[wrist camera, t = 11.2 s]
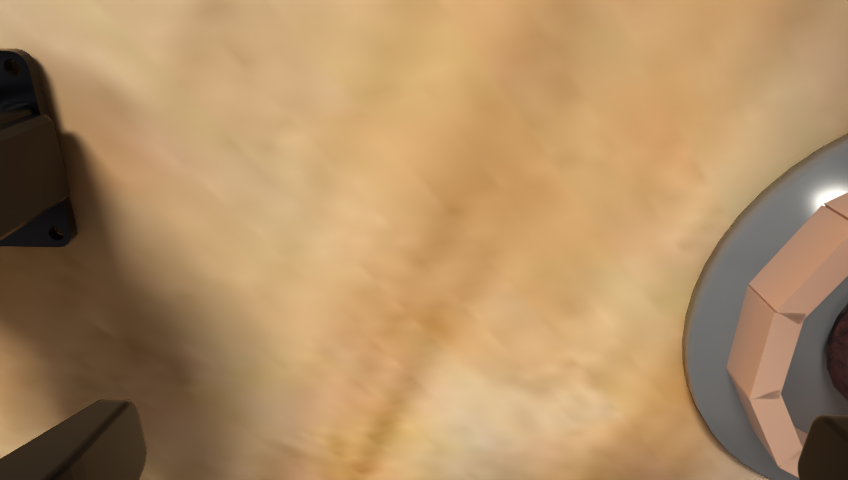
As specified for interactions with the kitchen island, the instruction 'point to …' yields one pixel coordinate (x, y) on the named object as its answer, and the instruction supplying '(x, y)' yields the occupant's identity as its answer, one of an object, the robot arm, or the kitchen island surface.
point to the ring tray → (773, 316)
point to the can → (839, 353)
